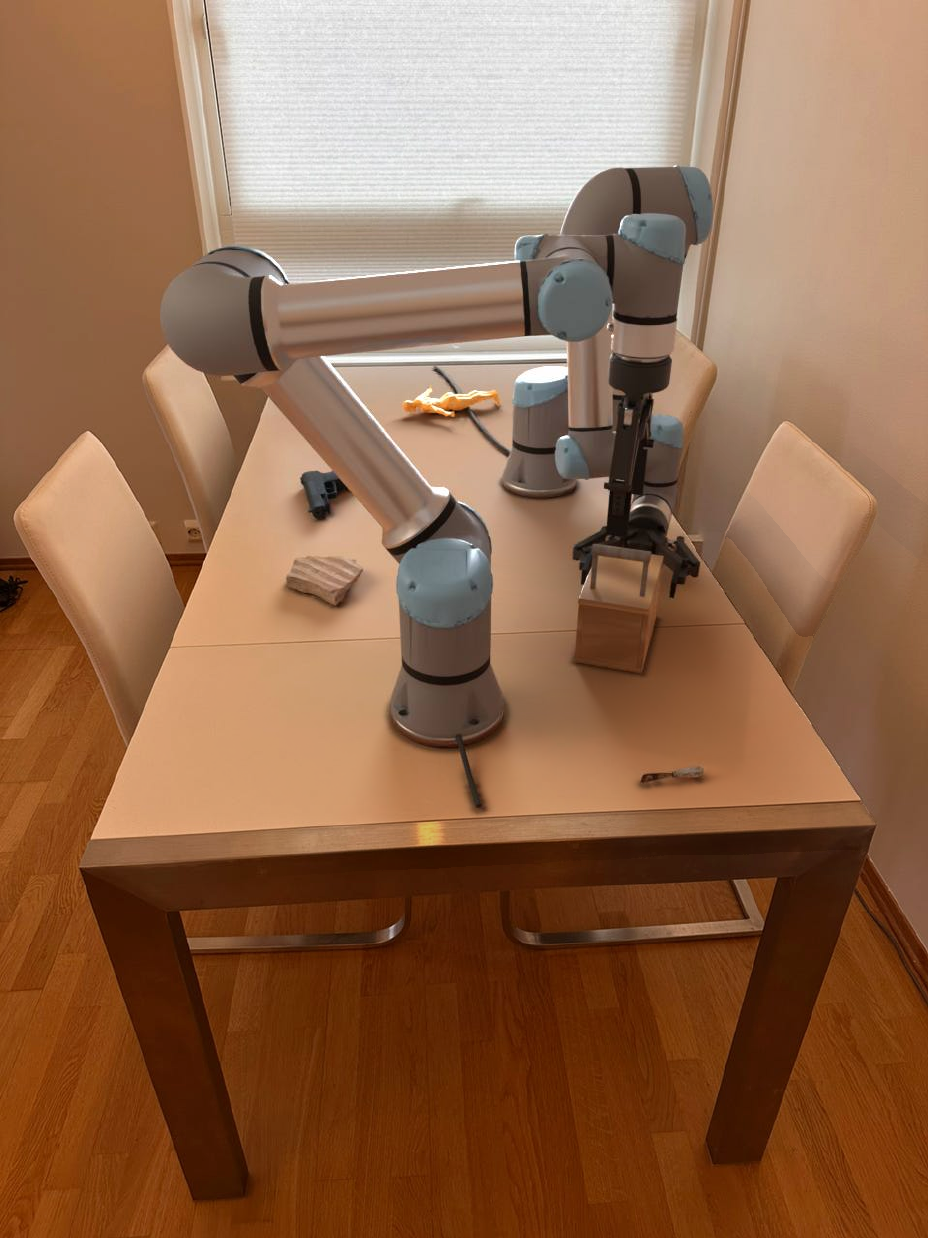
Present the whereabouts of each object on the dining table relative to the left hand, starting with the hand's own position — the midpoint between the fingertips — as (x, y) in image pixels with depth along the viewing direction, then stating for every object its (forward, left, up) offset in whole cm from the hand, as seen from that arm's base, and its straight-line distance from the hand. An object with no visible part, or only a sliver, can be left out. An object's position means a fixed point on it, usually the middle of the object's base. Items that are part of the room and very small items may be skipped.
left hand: (625, 513), depth 120 cm
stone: (+11, +49, -23) cm, 55 cm away
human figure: (+103, +48, -23) cm, 116 cm away
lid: (+5, 0, -13) cm, 14 cm away
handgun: (+45, +59, -23) cm, 78 cm away
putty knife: (-25, -9, -23) cm, 36 cm away
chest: (+5, 0, -23) cm, 24 cm away
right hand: (+10, -1, -16) cm, 19 cm away
